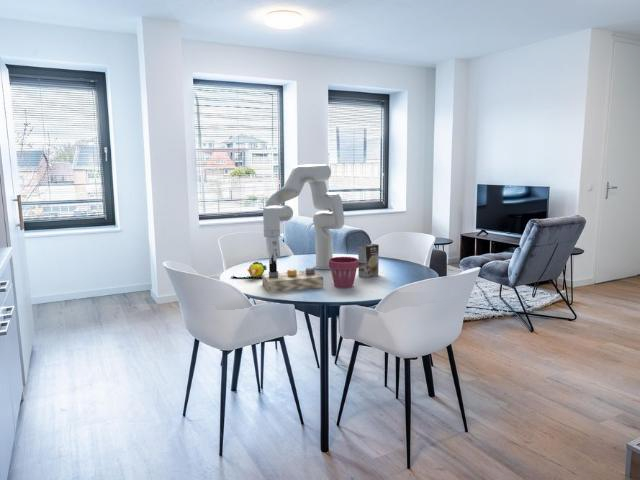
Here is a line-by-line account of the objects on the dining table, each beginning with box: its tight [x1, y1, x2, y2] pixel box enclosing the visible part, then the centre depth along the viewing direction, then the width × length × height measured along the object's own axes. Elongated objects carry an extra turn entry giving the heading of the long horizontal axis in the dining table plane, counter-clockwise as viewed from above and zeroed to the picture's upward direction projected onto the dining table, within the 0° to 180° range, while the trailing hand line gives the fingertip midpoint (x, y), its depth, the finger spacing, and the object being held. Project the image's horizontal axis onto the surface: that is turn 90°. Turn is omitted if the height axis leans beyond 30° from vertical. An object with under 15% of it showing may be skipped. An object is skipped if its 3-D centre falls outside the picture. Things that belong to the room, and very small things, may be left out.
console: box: [261, 270, 324, 293], centre depth 229 cm, size 26×16×5 cm, turn 107°
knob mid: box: [287, 269, 298, 277], centre depth 229 cm, size 4×4×6 cm
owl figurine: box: [230, 261, 268, 279], centre depth 249 cm, size 28×9×15 cm
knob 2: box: [305, 267, 316, 275], centre depth 231 cm, size 4×4×6 cm
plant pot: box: [329, 256, 359, 289], centre depth 226 cm, size 14×14×13 cm
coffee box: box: [357, 243, 380, 279], centre depth 246 cm, size 9×6×16 cm
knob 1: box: [268, 270, 279, 278], centre depth 226 cm, size 4×4×6 cm
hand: (273, 271), depth 225 cm, fingers closed
